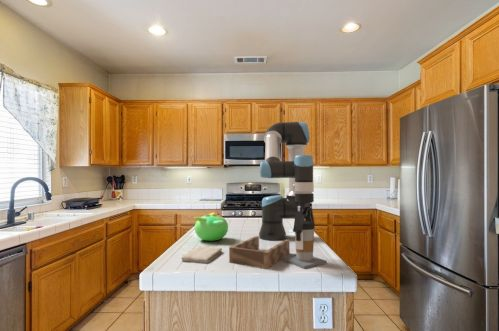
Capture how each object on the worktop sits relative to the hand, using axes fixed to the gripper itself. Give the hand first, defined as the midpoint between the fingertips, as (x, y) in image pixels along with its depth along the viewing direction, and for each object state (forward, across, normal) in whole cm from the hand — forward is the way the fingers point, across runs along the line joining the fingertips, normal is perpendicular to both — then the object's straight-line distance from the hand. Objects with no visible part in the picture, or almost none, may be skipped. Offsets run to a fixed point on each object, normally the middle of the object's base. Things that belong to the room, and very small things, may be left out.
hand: (304, 245), depth 115 cm
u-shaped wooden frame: (+7, +2, -18) cm, 20 cm away
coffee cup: (+6, 0, 0) cm, 6 cm away
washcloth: (+8, +13, -42) cm, 44 cm away
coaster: (+7, 0, 0) cm, 7 cm away
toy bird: (+7, -13, -56) cm, 58 cm away
